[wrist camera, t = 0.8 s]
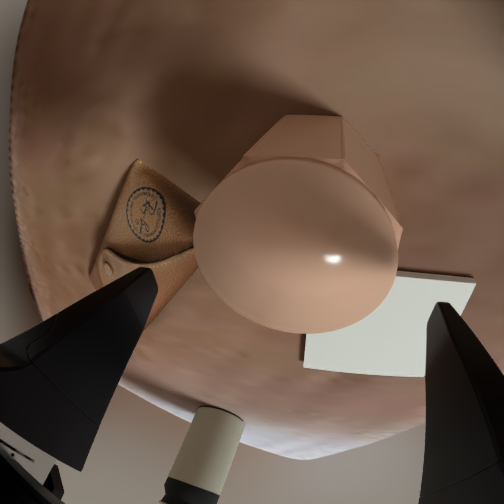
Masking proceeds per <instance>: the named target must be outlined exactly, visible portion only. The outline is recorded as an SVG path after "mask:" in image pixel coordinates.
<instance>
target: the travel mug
mask: <svg viewBox="0 0 504 504" xmlns="http://www.w3.org/2000/svg"><path fill="white" fill-rule="evenodd" d="M244 426H245V424H244V422H243V421H241V420H240V419H239V418H238V417H237V416H235V415H233V414H231V413H229V412H227V411H224V410H221V409H217V408H213V407H200V408H198V409H197V412H196V414H195V416H194V418H193V421H192V423H191V426H190V428H189V430H188V432H187V435H186V437H185V439H184V442H183V444H182V446H181V448H180V450H179V453H178V455H177V457H176V460H175V462H174V464H173V466H172V469H171V471H170V473H169V475H168V478H167V480H166V482H165V484H164V486H165V493H166V495H165V496H164V497H163V499H162V500H161V501H159V503H160V504H217V501H218V499H219V496H220V493H221V490H222V488H223V485H224V483H225V480H226V477H227V475H228V472H229V469H230V466H231V464H232V461H233V458H234V455H235V452H236V449H237V447H238V444H239V441H240V438H241V435H242V432H243V429H244Z"/></svg>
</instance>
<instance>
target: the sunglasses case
mask: <svg viewBox="0 0 504 504" xmlns="http://www.w3.org/2000/svg"><path fill="white" fill-rule="evenodd" d="M200 204H201V203H200V202H198V201H197V200H196V199H194V198H193V197H191V196H190V195H188V194H187V193H186V192H185V191H183V190H182V189H180V188H179V187H178V186H176V185H175V184H173V183H172V182H171V181H169V180H168V179H167V178H165V177H164V176H162V175H161V174H159V173H158V172H156V171H155V170H153V169H151V168H150V167H148V166H146V165H145V164H143V163H142V161H141V160H139V159H136V160H135V161H134V163H133V165H132V166H131V168H130V170H129V172H128V175H127V177H126V179H125V181H124V184H123V187H122V189H121V192H120V194H119V197H118V199H117V202H116V204H115V207H114V210H113V213H112V216H111V218H110V221H109V224H108V227H107V230H106V232H105V235H104V238H103V241H102V243H101V246H100V249H99V252H98V255H97V257H96V260H95V263H94V265H93V268H92V270H91V272H90V275H89V278H90V280H91V282H92V284H93V285H94V287H95V288H96V290H99V289H100V288H102V287H104V286H106V285H107V284H109V283H111V282H113V281H115V280H116V279H118V278H120V277H122V276H124V275H125V274H127V273H129V272H131V271H133V270H135V269H136V268H138V267H148V268H151V269H152V271H153V273H154V276H155V279H156V281H157V284H158V293H157V296H156V299H155V301H154V304H153V306H152V309H151V312H150V314H149V317H148V319H147V322H146V325H145V327H144V330H145V329H146V328H147V326H149V324H150V323H151V322H152V321H153V320H154V319H155V318H156V316H157V315H158V314H159V313H160V312H161V310H162V309H163V308H164V307H165V306H166V305H167V303H168V302H169V301H170V300H171V299H172V297H173V296H174V295H175V294H176V293H177V292H178V290H179V289H180V288H181V287H182V286H183V285H184V284H185V283H186V281H187V280H188V279H189V278H190V277H191V275H192V274H193V273H194V272H195V271H196V269H197V268H198V267H199V266H198V263H197V260H196V257H195V252H194V246H193V233H194V226H195V221H196V216H195V213H194V212H195V210H196V208H197V207H198V206H199V205H200ZM144 330H143V331H144Z"/></svg>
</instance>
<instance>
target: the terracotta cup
mask: <svg viewBox="0 0 504 504" xmlns="http://www.w3.org/2000/svg"><path fill="white" fill-rule="evenodd" d="M194 213H195V216H196V221H195V226H194V233H193V246H194V252H195V257H196V260H197V263H198V266H199V268H200V270H201V273H202V275H203V276H204V278H205V280H206V281H207V283H208V285H209V286H210V287H211V288H212V290H213V291H214V292H215V293H216V294H217V295H218V296H219V298H220V299H221V300H222V301H224V302H225V303H226V304H227V305H228V306H229V307H231V308H232V309H233V310H235V311H236V312H238V313H239V314H241V315H242V316H244V317H246V318H248V319H249V320H252V321H254V322H256V323H258V324H261V325H263V326H266V327H269V328H272V329H276V330H280V331H285V332H290V333H300V334H315V333H325V332H330V331H335V330H338V329H342V328H345V327H347V326H350V325H352V324H355V323H356V322H358V321H360V320H362V319H364V318H365V317H366V316H368V315H369V314H370V313H372V312H373V311H374V310H375V309H376V308H377V307H378V306H379V305H380V304H381V303H382V302H383V300H384V299H385V298H386V296H387V295H388V293H389V291H390V289H391V288H392V285H393V283H394V280H395V277H396V273H397V268H398V246H399V242H400V237H401V233H402V230H403V226H402V223H401V220H400V216H399V213H398V210H397V207H396V203H395V200H394V197H393V194H392V191H391V188H390V185H389V182H388V180H387V177H386V174H385V171H384V169H383V166H382V163H381V161H380V158H379V156H377V154H376V153H375V152H374V151H373V150H372V149H371V148H370V146H369V145H368V144H367V143H366V142H365V141H364V140H363V139H362V137H361V136H360V135H359V134H358V133H357V132H356V131H355V130H354V129H353V128H352V127H351V126H350V124H349V123H348V122H347V121H346V120H345V119H344V118H343V117H342V116H341V117H340V116H322V115H288V114H286V115H284V116H283V117H282V118H281V119H280V120H279V121H278V122H277V123H276V124H275V125H274V126H273V127H272V128H271V129H270V130H269V131H268V132H267V133H266V134H265V135H263V136H262V137H261V138H260V139H259V140H258V141H257V142H256V143H255V144H254V145H253V146H252V147H251V148H250V149H249V150H248V151H247V152H246V153H245V154H244V155H243V158H242V159H241V160H240V161H239V162H238V164H237V165H236V166H235V167H234V168H233V169H232V170H231V171H230V172H229V173H228V175H227V176H226V177H225V178H224V179H223V180H222V181H221V182H220V183H219V184H218V185H217V186H216V187H215V189H214V190H213V191H212V192H211V193H210V194H209V195H208V196H207V197H206V198H205V200H204V201H203V202H202V203H201V204H200V205H199V206H198V207H197V208H196V210H195V212H194Z"/></svg>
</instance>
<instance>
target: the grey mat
mask: <svg viewBox="0 0 504 504" xmlns="http://www.w3.org/2000/svg"><path fill="white" fill-rule="evenodd" d="M475 285H476V282H475V279H474V278H469V277H459V276H448V275H438V274H427V273H417V272H407V271H397V273H396V277H395V280H394V283H393V285H392V288H391V289H390V291H389V293H388V295H387V296H386V298H385V299H384V300H383V302H382V303H381V304H380V305H379V306H378V307H377V308H376V309H375V310H374V311H373V312H372V313H370V314H369V315H368V316H366V317H365V318H364V319H362V320H360V321H358V322H356V323H355V324H352V325H350V326H347V327H345V328H342V329H338V330H335V331H330V332H325V333H315V334H306V345H305V355H304V365H303V367H304V368H312V369H320V370H328V371H337V372H347V373H358V374H371V375H386V376H407V377H424V375H425V365H426V328H427V322H428V319H429V317H430V315H431V313H432V310H433V308H434V306H435V304H436V303H437V302H448V303H450V304H451V305H452V306H453V308H454V309H455V310H456V311H457V312H458V314H459V315H460V316H461V314H462V312H463V310H464V308H465V306H466V304H467V302H468V300H469V298H470V296H471V294H472V292H473V289H474V287H475Z"/></svg>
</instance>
